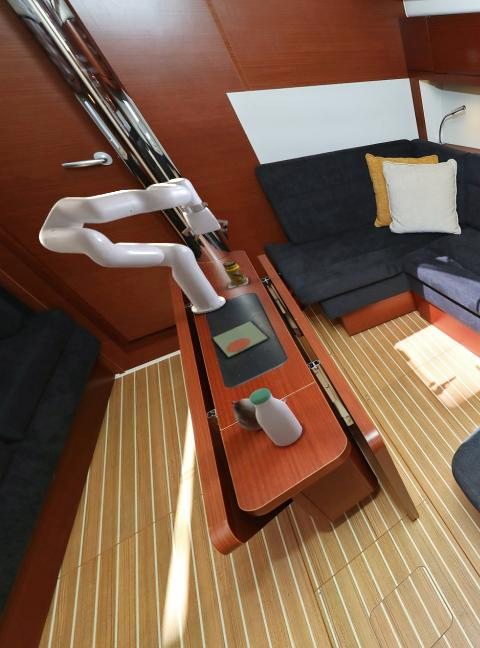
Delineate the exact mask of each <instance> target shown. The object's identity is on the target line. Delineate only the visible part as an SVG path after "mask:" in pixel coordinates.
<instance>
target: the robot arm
mask: <svg viewBox="0 0 480 648" xmlns="http://www.w3.org/2000/svg"><path fill="white" fill-rule="evenodd" d="M207 206H209V204H208V202H207V201H206V202H203V201H202V199H201V198H200V197H199V195H198V193H197V190H195V188H194V185H193V184H192V183H191V181H190V180H189V179H187V178H185V177H179V178H173V179H170V180H168V181H166V182H161V183H155V184H151V185H149V186H148V187H147V188H146V189H127V190H125V189H124V190H119V191H114V192H109V193H104V194H98V195H94V196H88V197H63V198H60V199H59V200H57V202H56V203H54V205H53V206H52V208H51V209H50V211H49V213H48V215H47V217H46V219H45V221H44V223H43V225H42V227H41V229H40V231H39V234H38V238H39V241H40V242H39V243H40V244H41V245H42V246H43V247H44V248H45V249H47V250H49V251H52V252H54V253H55V252H56V253H60V254H84V255H86V256H87V257H89V258H90V260H92V261H93V262H94V263H96V264H98V265H99V266H101V267H104V268H139V269H140V268H142V269H143V268H151V267H169V268H171V274H172V278H173V279H174V281H175V282H176V284H177V285H178V287H180V289H181V290H182V292H183V293H184V295H185V296H186V297H187V298H188V300H189V301H190V303H191V304H192V306H191V312H193V313H194V314H199V315H200V314H207V313H211V312H213V311H216V310H218V309H220V308H221V307H223V306H224V305H225V304H226V298H225V297H224V296H219V295H218V294H217V292H216V290H215V289H214V287H213V286H212V284H211V283H210V281H209V279H208V278H207V277H206V275H205V274H204V272H203V271H202V268H200V266H199V264H198V262H197V259H196V257H195V254H194V252H193V250H192V249H191V248H190V247H189V246H186V245H184V244H180V243H161V242H160V243H158V242H157V243H154V242H152V243H151V242H150V243H149V242H146V243H145V242H143V243H142V242H117V243H113V242H112V241H111V240H110V238H108V237H107V236H106V235H105V234H103V233H101V232H99V231H97V230H95V229H92V228H87V227H84V224H103V223H109V222H113V221H116V220H117V221H118V220H121V219H125V218H127V217H132V216H135V215H139V214H146V213H151V212H157V211H161V210H167V209H168V210H169V209H173V208H176V207H177V208H178V207H181V209H182V211H183V212H182V215H183V217H184V220H185V222H186V224H187V225H188V226H187V227H186V228H185V229H184V230H183V231H182V232H181V234H182V235H184V236H185V237H187V238H189V239H191V240H192V239H193V240H195V242H196V243H197V245H198V246H199V247H202V248H205V247H206V245H204V243H203V241H202V239H200V238H199V237H200V235H205V234H209V233H212V232H215V231H220V233H221V235H222V236H223V238H224V239H225V240H226V241H228V240H229V234H228V233H227V230H228V227H229V226H228V224H229V222H228V220H226V219H219V218H218V219H217V218H216V216H215V215H214V214H213V213H212V212H211V210H210V209H209V208H208V207H207ZM220 223H221V224H223V225H222V227H221V224H220ZM190 232H192V233H193V235H192V234H189V233H190Z"/></svg>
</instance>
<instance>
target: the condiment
mask: <svg viewBox="0 0 480 648" xmlns="http://www.w3.org/2000/svg"><path fill="white" fill-rule="evenodd" d="M222 266H223V268H224V271H225V273H226V275H227V276H228V278H229V280H230V281H228V287H227V289H232V288H236V287H242V286H246V285H248V284H249V277H246V276H245V274H244V273H243V270H242V269H241V267H240V265H239V264H237V262H236V261H235V260H227V261H225V262H223V263H222Z"/></svg>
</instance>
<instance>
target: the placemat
mask: <svg viewBox="0 0 480 648" xmlns="http://www.w3.org/2000/svg"><path fill="white" fill-rule="evenodd" d="M212 339H213V341H214V342H215V343H216V344H217V345H218V347H220V349H221V350H222V351H223V353H224V354H225V355H226V356H227V357H228V358H229V359H230V358H232V357H234V356H236V355H239V354H241V353H243V352H244V351H247V350H248V349H251V348H252V347H255V346H257V345H260V344H261V343H263V342H264V341H267V340H268V339H269V338H268V337H267V336H266V335H265V334H264V333H263V332H262V331H261V329H259V328H258V327H257V326H256V325H255V324H254V323H253V322H252V320H251V321H247V322H246V323H243V324H240V325H239V326H236V327H234V328H232V329H229V330H227V331H225V332H222V333H221V334H218V335H216V336H213V337H212Z"/></svg>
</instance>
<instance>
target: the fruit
mask: <svg viewBox="0 0 480 648" xmlns="http://www.w3.org/2000/svg"><path fill="white" fill-rule="evenodd" d="M230 403H231V405H233V407H232V411H233V413H234V419H235V422H236V423H237V424H238V425H239V426H240V427H242V428H243V429H245V430H247V431H251V432H252V431H259V430H261V429H263V428H262V427H261V426H260V424H259V423H258V421H257V418H256V406H254V405H253V404H252V403H251V401H250V398H242V399H239V400H238V401H234V400H231V401H230Z"/></svg>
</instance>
